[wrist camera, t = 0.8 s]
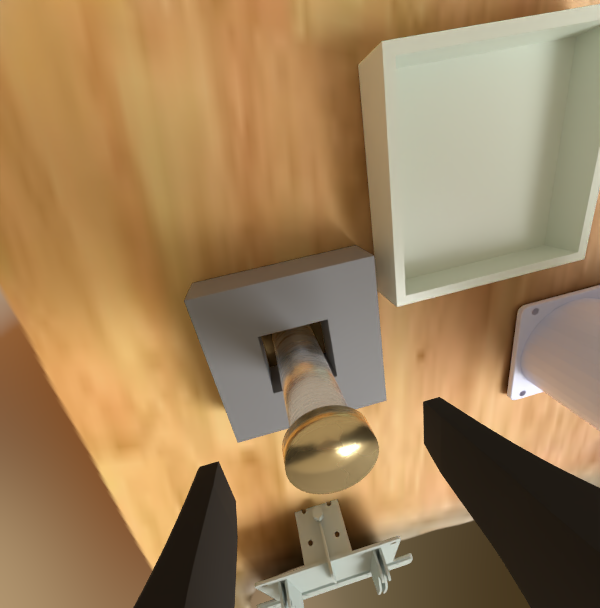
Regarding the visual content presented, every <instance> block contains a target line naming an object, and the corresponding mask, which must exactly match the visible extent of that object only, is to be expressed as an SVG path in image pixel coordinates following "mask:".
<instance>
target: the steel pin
mask: <svg viewBox="0 0 600 608" xmlns="http://www.w3.org/2000/svg"><path fill="white" fill-rule="evenodd" d="M272 339H273V344H274V349H275V354H276V359H277V365H278V370H279V375H280V380H281V385H282V390H283V395H284V401H285V406H286V411H287V416H288V421H289V426H290V427H289V429H288V430H287V432H286V434H285V436H284V439H283V444H282V451H283V457H284V464H285V470H286V475H287V477H288V479H289V481H290V482H291V483H292V484H293V485H294V486H295V487H296V488H298V489H300V490H302V491H304V492H308V493H312V494H329V493H334V492H338V491H341V490H344V489H347V488H349V487H351V486H353V485H354V484H356V483H358V482H359V481H360V480H362V479H363V478H364V477H365V476H366V475H367V474H368V473H369V472H370V471H371V469H372V468H373V466H374V465H375V463H376V461H377V458H378V453H379V446H378V442H377V439H376V437H375V435H374V433H373V431H372V429H371V428H370V426H369V424H368V422H367V420H366V418H365V417H364V416H363V415H362V414H361V413H360V412H359V411H357V410H355V409H353V408H350V407H348V406H347V404H346V401H345V399H344V397H343V395H342V393H341V391H340V389H339V386H338V384H337V382H336V380H335V378H334V376H333V374H332V371H331V369H330V367H329V365H328V363H327V361H326V359H325V357H324V354H323V352H322V350H321V348H320V346H319V344H318V342H317V339H316V337H315V335H314V333H313V331H312V329H311V327H310V325H309V324H307V325H303V326H299V327H295V328H291V329H287V330H283V331H279V332H276V333H272Z"/></svg>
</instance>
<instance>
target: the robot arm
mask: <svg viewBox="0 0 600 608" xmlns="http://www.w3.org/2000/svg"><path fill="white" fill-rule="evenodd" d="M540 392H545V393H546V394H548V395H549V396H550V397H552V398H553V399H555V400H556V401H558V402H559V403H560V404H562V405H563V406H565V407H566V408H568V409H569V410H570V411H572V412H573V413H575V414H576V415H577V416H579V417H580V418H582V419H583V420H585V421H586V422H587V423H589V424H590V425H592V426H593V427H595V428H596V429H597V430H599V431H600V285H597V286H594V287H590V288H586V289H582V290H579V291H575V292H571V293H567V294H563V295H560V296H556V297H552V298H548V299H545V300H541V301H537V302H533V303H530V304H526V305H523V306H522V307H520V308H519V310H518V312H517V320H516V328H515V336H514V343H513V351H512V359H511V367H510V374H509V382H508V390H507V396H508V397H509V398H510V399H511V400H517V399H520V398H524V397H527V396H530V395H534V394H537V393H540ZM423 414H424V444H425V446H426V448H427V450H428V451H429V453H430V455H431V457H432V459H433V460H434V462H435V464H436V466H437V467H438V469H439V471H440V472H441V474H442V475H443V477H444V478H445V480H446V481H447V482H448V484H449V485H450V487H451V488H452V489H453V491H454V492H455V494H456V495H457V497H458V498H459V499H460V501H461V502H462V504H463V505H464V506H465V508H466V509H467V510H468V512H469V513H470V515H471V516H472V517H473V519H474V520H475V522H476V523H477V524H478V526H479V527H480V528H481V530H482V531H483V533H484V534H485V535H486V537H487V538H488V540H489V541H490V543H491V544H492V546H493V547H494V548H495V550H496V551H497V553H498V554H499V556H500V558H501V559H502V561H503V562H504V564H505V566H506V567H507V569H508V570H509V572H510V574H511V575H512V577H513V579H514V580H515V582H516V584H517V585H518V587H519V589H520V590H521V592H522V593H523V595H524V596H525V598H526V600H527V602H528V603H529V605H530V607H531V608H600V488H599V487H596V486H594V485H592V484H590V483H588V482H586V481H584V480H582V479H580V478H578V477H576V476H574V475H572V474H570V473H568V472H566V471H564V470H562V469H560V468H558V467H556V466H554V465H552V464H550V463H548V462H546V461H545V460H543V459H541V458H539V457H537V456H535V455H534V454H532V453H530V452H528V451H526V450H525V449H523V448H521V447H519V446H518V445H516V444H514V443H512V442H511V441H509V440H507V439H506V438H504V437H502V436H501V435H499V434H497V433H496V432H494V431H492V430H491V429H489V428H488V427H486V426H484V425H483V424H481V423H479V422H478V421H476V420H475V419H473V418H472V417H470V416H468V415H467V414H465V413H464V412H462V411H461V410H459V409H457V408H456V407H454V406H453V405H451V404H450V403H448V402H446V401H445V400H443V399H442V398H440V397H438V398H435V399H431V400H428V401H424V402H423ZM237 537H238V536H237V515H236V500H235V498H234V496H233V494H232V491H231V489H230V487H229V484H228V482H227V480H226V477H225V475H224V473H223V470H222V468H221V466H220V464H219V461H218V462H215V463H211V464H208V465H205V466H201V467H200V468H199V469H198V471H197V473H196V476H195V478H194V481H193V483H192V486H191V488H190V491H189V493H188V495H187V498H186V500H185V502H184V505H183V507H182V509H181V512H180V514H179V516H178V519H177V521H176V523H175V525H174V527H173V529H172V532H171V534H170V536H169V538H168V540H167V543H166V545H165V547H164V549H163V551H162V553H161V555H160V557H159V559H158V561H157V563H156V565H155V567H154V569H153V571H152V573H151V575H150V577H149V579H148V581H147V583H146V585H145V587H144V589H143V591H142V593H141V595H140V596H139V598H138V600H137V602H136V604H135V606H134V608H234V605H235V584H236V562H237Z"/></svg>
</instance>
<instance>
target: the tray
mask: <svg viewBox="0 0 600 608" xmlns="http://www.w3.org/2000/svg"><path fill="white" fill-rule="evenodd" d="M358 70H359V82H360V94H361V106H362V117H363V129H364V141H365V153H366V164H367V176H368V188H369V200H370V211H371V223H372V235H373V247H374V259H375V270H376V282H377V291H378V292H379V293H381V294H382V295H383V296H384V297H386V298H387V299H388V300H389V301H390V302H392V303H393V304H394V305H395V306H397V307H399V306H403V305H407V304H411V303H415V302H418V301H422V300H426V299H430V298H434V297H438V296H442V295H446V294H450V293H454V292H458V291H462V290H465V289H469V288H473V287H477V286H481V285H485V284H489V283H493V282H497V281H501V280H505V279H509V278H513V277H516V276H520V275H524V274H528V273H532V272H536V271H540V270H544V269H548V268H552V267H556V266H560V265H563V264H567V263H571V262H575V261H579V260H583V259H584V258H585V254H586V249H587V244H588V240H589V235H590V230H591V226H592V221H593V216H594V212H595V207H596V202H597V198H598V193H599V188H600V4H597V5H591V6H585V7H579V8H574V9H568V10H562V11H556V12H550V13H544V14H538V15H532V16H526V17H520V18H515V19H509V20H503V21H497V22H491V23H485V24H479V25H473V26H467V27H462V28H456V29H450V30H444V31H438V32H432V33H426V34H420V35H414V36H408V37H403V38H397V39H391V40H385V41H381V42H380V43H379V44H378V45H377V46H376V47H375V48H374V49H373V50H372V51H371V52H370V53H369V54H368V55H367V56H366V57H365V58H364V59H363V60H362V61H361V62H360V63H359V64H358Z"/></svg>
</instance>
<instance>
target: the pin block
mask: <svg viewBox="0 0 600 608" xmlns="http://www.w3.org/2000/svg"><path fill="white" fill-rule="evenodd" d="M184 302H185V305H186V307H187V310H188V313H189V315H190V318H191V321H192V323H193V326H194V328H195V331H196V334H197V336H198V339H199V342H200V344H201V347H202V350H203V352H204V355H205V357H206V360H207V363H208V365H209V368H210V371H211V373H212V376H213V379H214V381H215V384H216V386H217V389H218V392H219V394H220V397H221V400H222V402H223V405H224V408H225V410H226V413H227V415H228V418H229V421H230V423H231V426H232V429H233V431H234V434H235V437H236V439H237V442H242V441H245V440H249V439H253V438H256V437H260V436H263V435H267V434H270V433H274V432H277V431H281V430H284V429H288V428H289V427H290V426H289V421H288V416H287V411H286V406H285V401H284V395H283V390H282V385H281V380H280V375H279V370H278V365H276V366H272V367H269V363H268V359H267V356H266V352H265V348H264V345H263V341H262V338H261V336H264V335H268V334H272V333H276V332H279V331H283V330H287V329H291V328H295V327H299V326H303V325H307V324H311V323H315V322H319V321H320V324H321V329H322V335H323V340H324V346H325V353H323V354H324V357H325V359H326V361H327V363H328V365H329V367H330V369H331V371H332V374H333V376H334V378H335V380H336V382H337V384H338V386H339V389H340V391H341V393H342V395H343V397H344V399H345V401H346V404H347V406H348V407H350V408H353V409H358V408H362V407H365V406H369V405H372V404H376V403H379V402H383V401H386V389H385V378H384V366H383V354H382V342H381V331H380V319H379V307H378V296H377V284H376V272H375V260H374V255H372V254H370V253H369V252H367V251H365V250H363V249H362V248H360V247H358V246H356V245H354V246H350V247H346V248H341V249H337V250H333V251H328V252H324V253H320V254H316V255H311V256H307V257H303V258H298V259H294V260H290V261H285V262H281V263H277V264H273V265H268V266H264V267H260V268H255V269H251V270H247V271H242V272H238V273H234V274H229V275H225V276H221V277H217V278H212V279H208V280H204V281H199V282H195V283H192V285H191V287H190V289H189V291H188V293H187V295H186V298H185V300H184Z"/></svg>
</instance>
